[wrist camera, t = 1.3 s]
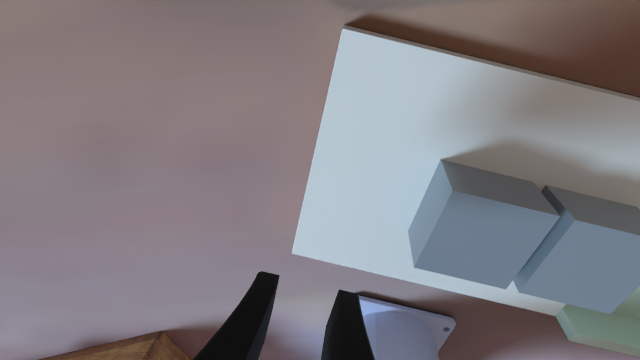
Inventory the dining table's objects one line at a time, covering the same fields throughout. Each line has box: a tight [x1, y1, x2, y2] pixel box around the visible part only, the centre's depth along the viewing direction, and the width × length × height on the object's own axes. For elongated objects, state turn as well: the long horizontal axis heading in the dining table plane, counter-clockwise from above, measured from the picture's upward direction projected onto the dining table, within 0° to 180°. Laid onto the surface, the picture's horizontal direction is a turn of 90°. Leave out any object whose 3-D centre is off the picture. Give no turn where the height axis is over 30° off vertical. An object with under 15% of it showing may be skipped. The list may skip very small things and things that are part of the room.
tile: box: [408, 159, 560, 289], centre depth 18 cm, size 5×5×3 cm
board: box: [292, 25, 640, 316], centre depth 20 cm, size 14×18×1 cm
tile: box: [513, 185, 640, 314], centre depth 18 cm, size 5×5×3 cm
